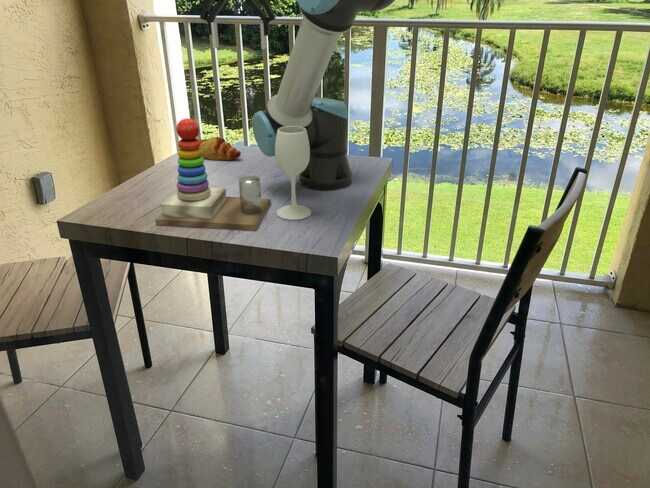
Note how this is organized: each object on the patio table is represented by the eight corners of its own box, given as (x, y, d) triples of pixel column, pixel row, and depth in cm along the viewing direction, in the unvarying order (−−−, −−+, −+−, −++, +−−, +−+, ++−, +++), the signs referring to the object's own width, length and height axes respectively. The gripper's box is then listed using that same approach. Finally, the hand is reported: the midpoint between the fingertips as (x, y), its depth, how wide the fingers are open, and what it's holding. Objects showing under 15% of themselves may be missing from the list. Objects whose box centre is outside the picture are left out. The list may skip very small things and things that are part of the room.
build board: (270, 204, 132) (269, 187, 130) (255, 230, 118) (254, 213, 116) (181, 199, 134) (179, 183, 132) (156, 225, 120) (153, 207, 118)
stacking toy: (202, 203, 120) (193, 124, 112) (171, 200, 122) (160, 122, 113) (216, 191, 127) (208, 116, 119) (186, 189, 129) (176, 114, 120)
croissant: (186, 163, 172) (175, 145, 166) (202, 143, 177) (192, 125, 171) (236, 172, 163) (227, 154, 157) (252, 151, 168) (243, 132, 162)
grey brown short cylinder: (263, 207, 126) (261, 176, 123) (258, 215, 122) (257, 183, 118) (243, 206, 127) (241, 175, 123) (238, 214, 123) (235, 182, 119)
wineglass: (288, 203, 132) (286, 123, 123) (317, 210, 128) (317, 127, 119) (269, 215, 125) (265, 131, 116) (299, 223, 122) (297, 136, 112)
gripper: (284, -39, 134) (286, 47, 143) (192, -40, 136) (200, 45, 146) (278, -41, 127) (281, 50, 137) (182, -41, 130) (191, 48, 139)
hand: (239, 48), depth 141 cm, fingers open, 13 cm apart
